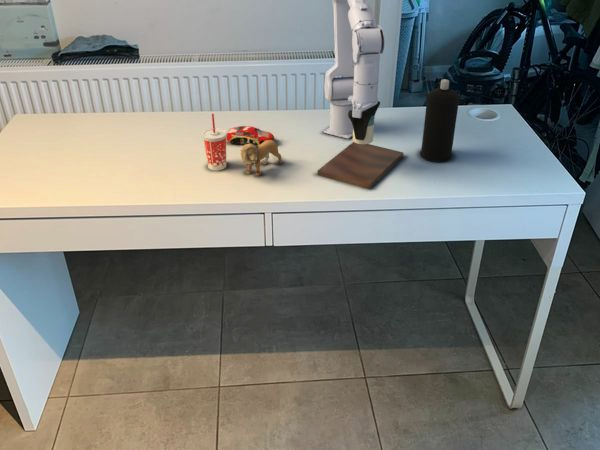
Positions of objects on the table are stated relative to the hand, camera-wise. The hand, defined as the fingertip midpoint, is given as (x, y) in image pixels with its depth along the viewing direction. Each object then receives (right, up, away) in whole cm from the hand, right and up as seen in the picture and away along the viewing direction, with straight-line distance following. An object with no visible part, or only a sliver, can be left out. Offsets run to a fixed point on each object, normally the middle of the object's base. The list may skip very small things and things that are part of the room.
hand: (363, 134), depth 150 cm
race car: (-29, 0, +17) cm, 33 cm away
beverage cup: (-36, -7, +5) cm, 37 cm away
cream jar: (0, -1, +1) cm, 1 cm away
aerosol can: (+20, -4, +9) cm, 22 cm away
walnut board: (0, -7, +5) cm, 8 cm away
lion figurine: (-25, -9, +3) cm, 26 cm away
